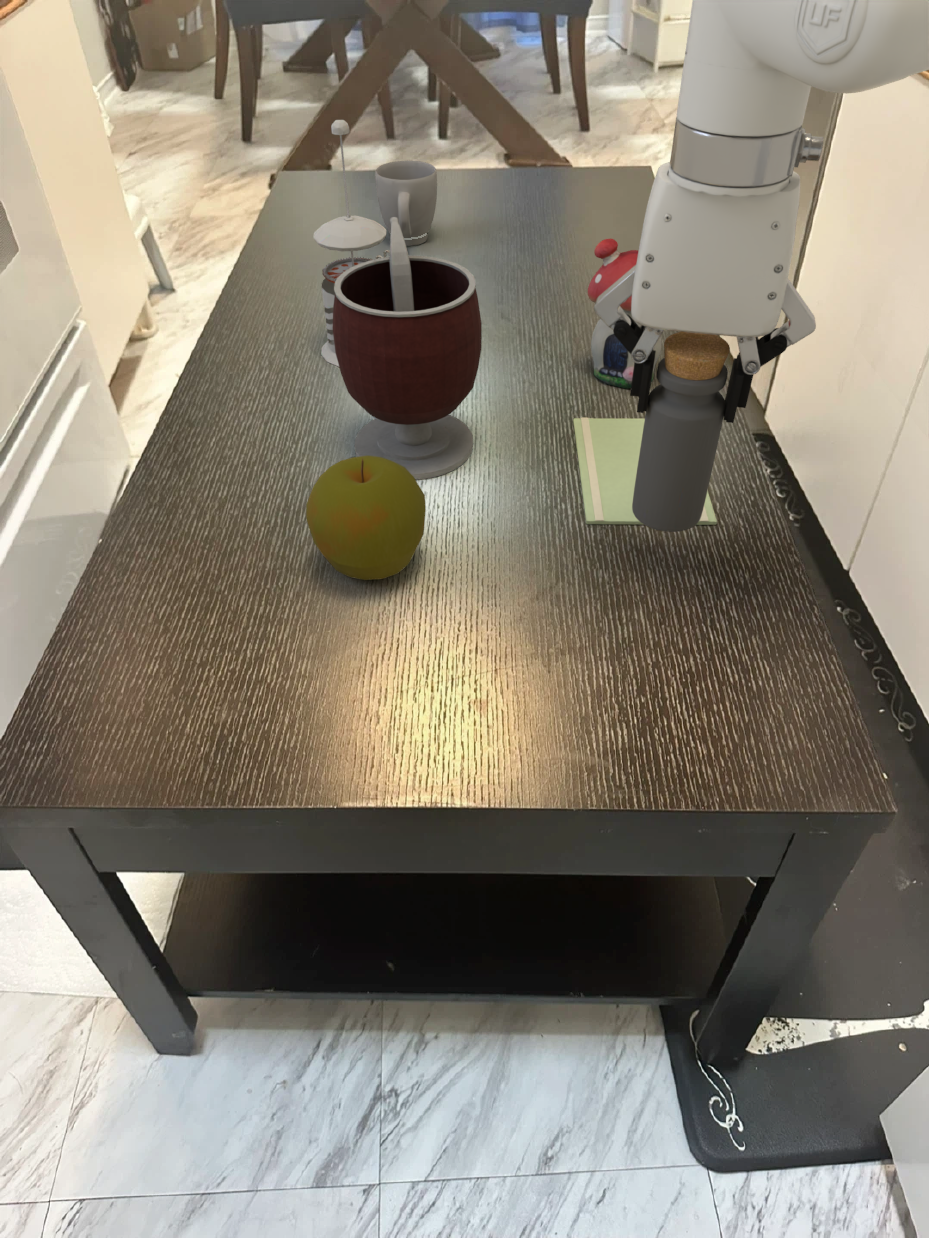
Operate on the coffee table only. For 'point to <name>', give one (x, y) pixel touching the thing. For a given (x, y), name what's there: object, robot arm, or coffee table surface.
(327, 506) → the apple
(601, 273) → the decorative ornament
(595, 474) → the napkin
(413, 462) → the mate gourd
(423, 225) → the mug
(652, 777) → the coffee table surface
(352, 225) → the french press
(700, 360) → the bottle
